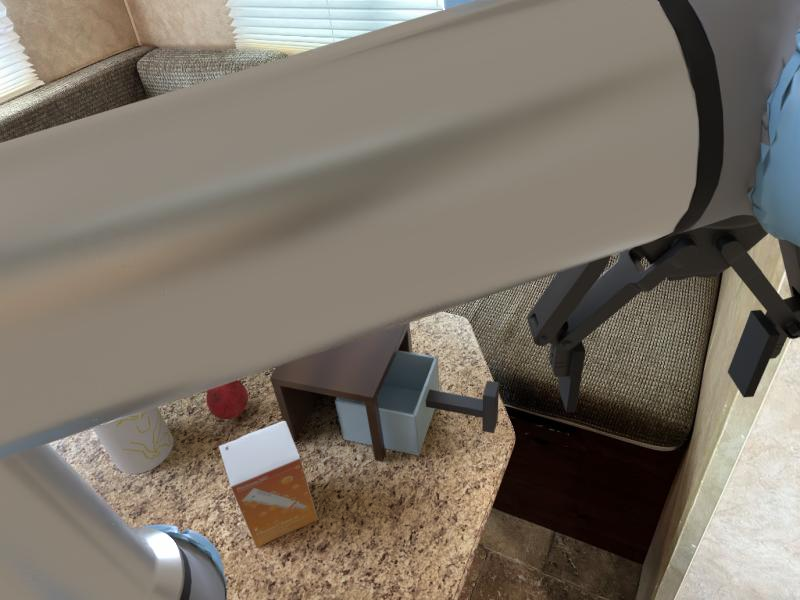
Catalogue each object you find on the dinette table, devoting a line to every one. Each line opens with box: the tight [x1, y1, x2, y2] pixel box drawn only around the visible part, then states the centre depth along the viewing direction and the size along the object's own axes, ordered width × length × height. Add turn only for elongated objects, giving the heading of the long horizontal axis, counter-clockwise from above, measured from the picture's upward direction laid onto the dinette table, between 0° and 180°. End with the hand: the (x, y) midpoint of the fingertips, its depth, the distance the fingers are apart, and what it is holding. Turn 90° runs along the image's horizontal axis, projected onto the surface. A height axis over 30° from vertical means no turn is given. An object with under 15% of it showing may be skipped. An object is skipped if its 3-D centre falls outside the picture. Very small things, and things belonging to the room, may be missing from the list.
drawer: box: [334, 350, 500, 456], centre depth 82 cm, size 20×11×10 cm, turn 72°
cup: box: [92, 407, 174, 475], centre depth 82 cm, size 8×8×12 cm
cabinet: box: [269, 322, 413, 463], centre depth 84 cm, size 14×15×13 cm
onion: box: [205, 380, 249, 421], centre depth 87 cm, size 6×6×8 cm
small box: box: [218, 420, 319, 548], centre depth 72 cm, size 8×6×13 cm
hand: (653, 391), depth 48 cm, fingers open, 13 cm apart
